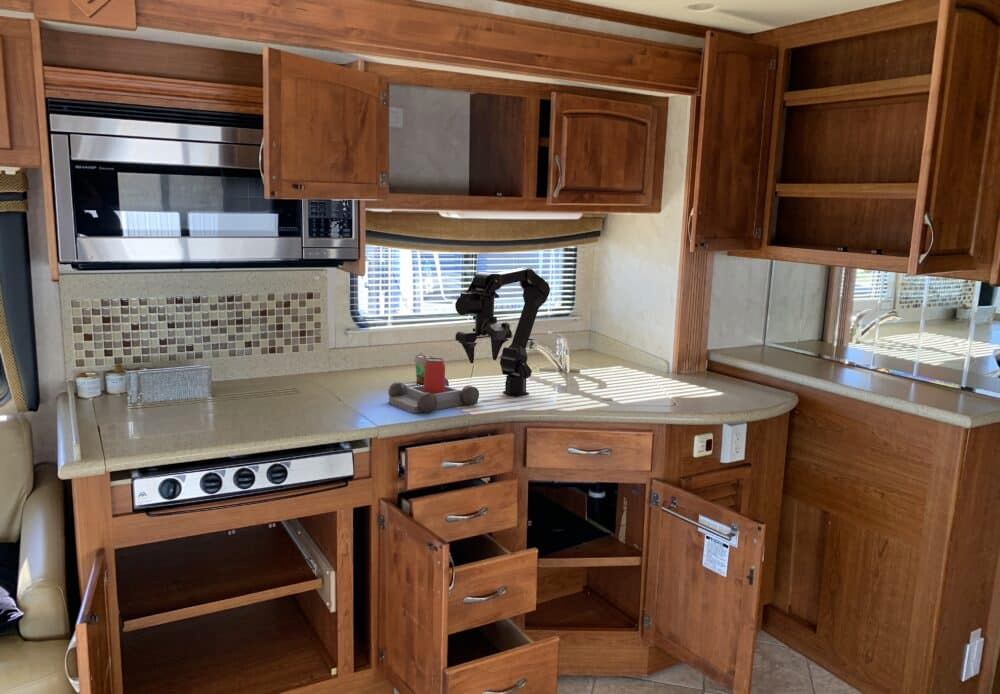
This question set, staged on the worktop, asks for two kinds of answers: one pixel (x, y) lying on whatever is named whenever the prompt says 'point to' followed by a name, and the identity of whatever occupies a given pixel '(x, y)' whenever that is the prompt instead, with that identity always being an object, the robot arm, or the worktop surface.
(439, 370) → the beer can
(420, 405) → the chassis
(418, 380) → the food container
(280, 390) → the worktop surface
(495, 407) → the worktop surface
